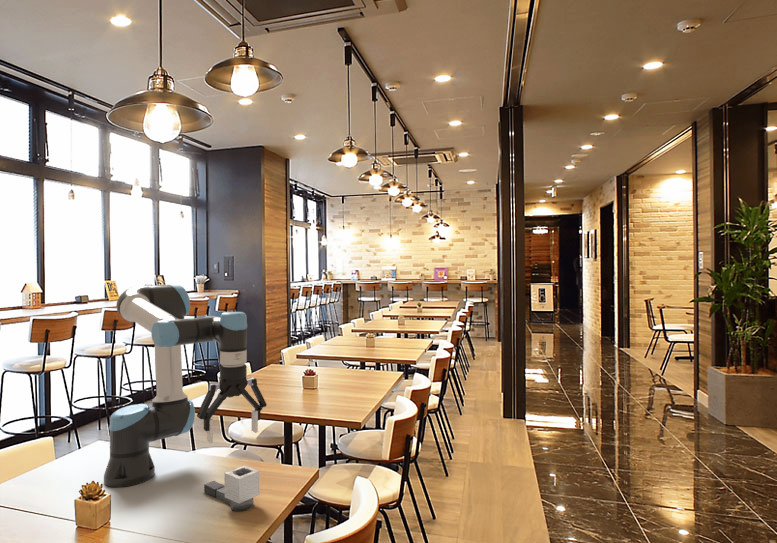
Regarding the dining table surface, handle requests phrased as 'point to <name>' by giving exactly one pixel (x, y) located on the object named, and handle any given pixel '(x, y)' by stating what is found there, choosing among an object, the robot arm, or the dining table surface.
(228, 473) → the socket
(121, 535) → the dining table surface
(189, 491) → the dining table surface
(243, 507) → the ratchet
